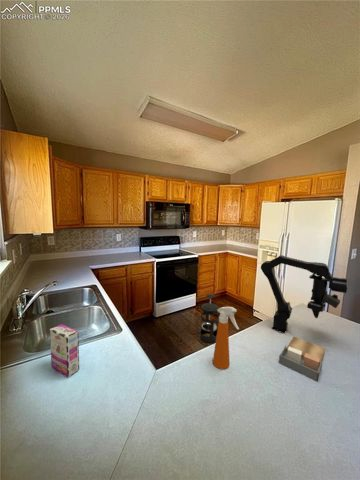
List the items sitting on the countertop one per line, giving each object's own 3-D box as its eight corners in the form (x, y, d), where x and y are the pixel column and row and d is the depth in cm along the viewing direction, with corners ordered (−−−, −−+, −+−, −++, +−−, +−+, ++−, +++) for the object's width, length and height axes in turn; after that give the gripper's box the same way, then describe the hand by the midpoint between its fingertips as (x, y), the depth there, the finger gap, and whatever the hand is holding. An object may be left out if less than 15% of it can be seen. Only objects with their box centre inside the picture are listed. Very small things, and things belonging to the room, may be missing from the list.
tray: (278, 362, 86) (279, 355, 85) (284, 352, 92) (285, 345, 92) (317, 381, 76) (318, 373, 76) (321, 368, 83) (322, 361, 82)
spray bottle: (230, 378, 77) (234, 313, 74) (209, 362, 85) (212, 303, 82) (240, 369, 81) (244, 308, 78) (219, 355, 89) (222, 299, 86)
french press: (216, 332, 107) (218, 291, 104) (221, 343, 98) (224, 298, 95) (194, 333, 106) (196, 291, 103) (198, 344, 96) (200, 299, 94)
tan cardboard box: (304, 363, 85) (303, 367, 83) (305, 352, 84) (304, 356, 82) (318, 369, 82) (317, 373, 80) (319, 358, 81) (318, 362, 79)
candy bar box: (80, 369, 79) (79, 330, 77) (68, 378, 74) (66, 337, 73) (63, 359, 84) (61, 323, 82) (50, 367, 80) (48, 328, 78)
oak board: (285, 353, 92) (286, 348, 92) (293, 340, 101) (293, 336, 101) (319, 368, 83) (320, 362, 83) (324, 353, 93) (324, 348, 92)
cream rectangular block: (288, 356, 89) (286, 360, 87) (289, 346, 88) (287, 349, 86) (300, 362, 86) (299, 365, 84) (302, 351, 85) (301, 354, 83)
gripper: (338, 298, 88) (334, 331, 89) (341, 287, 101) (337, 316, 103) (308, 291, 95) (305, 322, 97) (315, 282, 109) (312, 309, 111)
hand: (316, 317), depth 102 cm, fingers closed
